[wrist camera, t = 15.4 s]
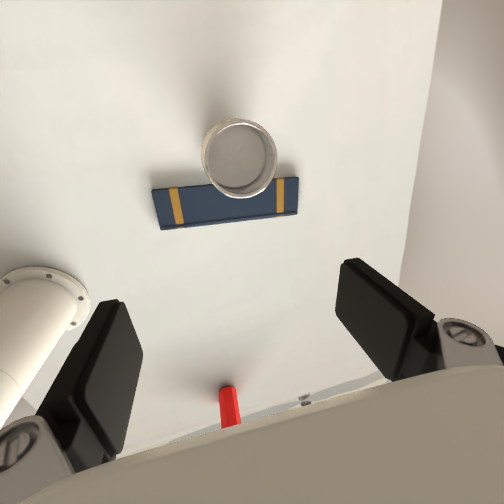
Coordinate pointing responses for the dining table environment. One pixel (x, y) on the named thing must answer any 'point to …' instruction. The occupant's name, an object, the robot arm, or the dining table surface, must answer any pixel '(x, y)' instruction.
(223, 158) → the beer glass
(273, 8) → the dining table surface
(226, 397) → the french fries
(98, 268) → the dining table surface
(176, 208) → the blue striped flat box
